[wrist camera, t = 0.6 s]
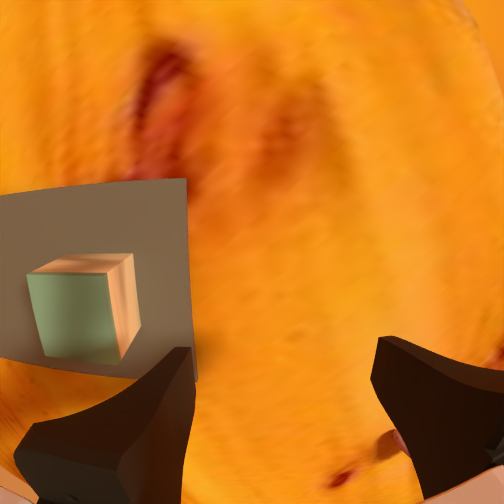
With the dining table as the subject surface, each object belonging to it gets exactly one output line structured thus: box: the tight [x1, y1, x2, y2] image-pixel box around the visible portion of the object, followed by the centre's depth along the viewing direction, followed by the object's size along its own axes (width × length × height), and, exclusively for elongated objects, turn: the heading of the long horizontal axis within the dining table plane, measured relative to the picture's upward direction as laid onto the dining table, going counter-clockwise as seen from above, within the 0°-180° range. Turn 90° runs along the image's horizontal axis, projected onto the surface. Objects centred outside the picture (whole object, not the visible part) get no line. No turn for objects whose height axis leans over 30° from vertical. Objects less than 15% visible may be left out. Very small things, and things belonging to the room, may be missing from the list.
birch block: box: [26, 253, 141, 365], centre depth 16 cm, size 5×5×5 cm
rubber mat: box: [0, 178, 198, 382], centre depth 19 cm, size 22×14×1 cm, turn 90°
